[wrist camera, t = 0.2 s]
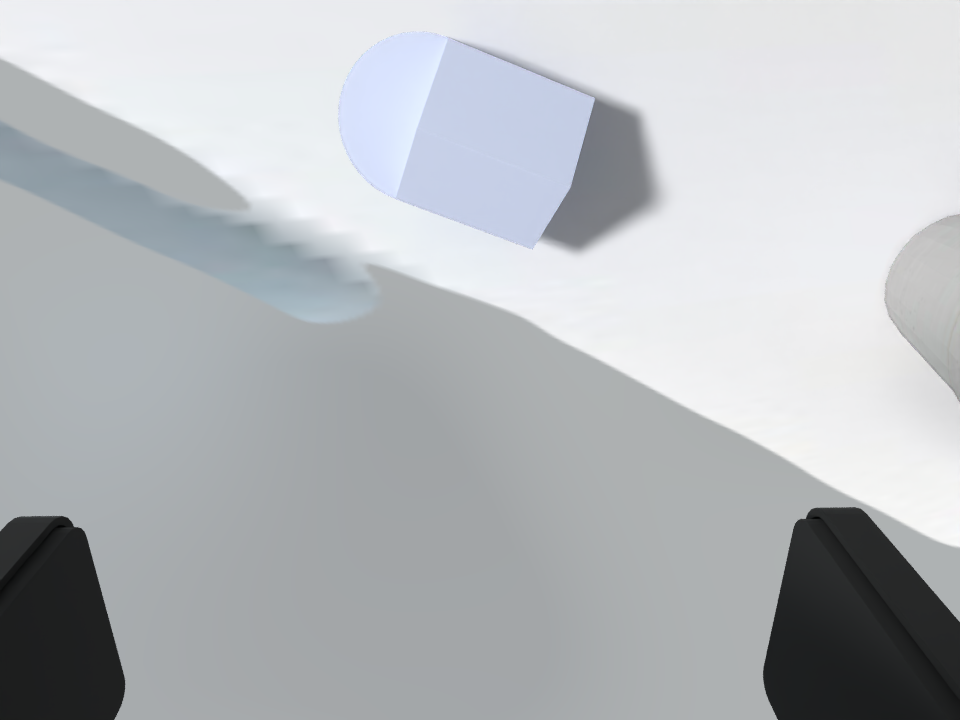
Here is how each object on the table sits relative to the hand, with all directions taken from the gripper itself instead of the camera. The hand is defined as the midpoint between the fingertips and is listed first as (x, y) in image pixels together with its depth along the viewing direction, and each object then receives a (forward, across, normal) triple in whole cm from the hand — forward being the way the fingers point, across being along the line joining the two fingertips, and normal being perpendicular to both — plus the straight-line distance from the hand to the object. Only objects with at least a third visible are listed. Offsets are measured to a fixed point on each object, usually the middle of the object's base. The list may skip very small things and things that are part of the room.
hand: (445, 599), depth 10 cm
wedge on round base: (+37, 0, -2) cm, 37 cm away
